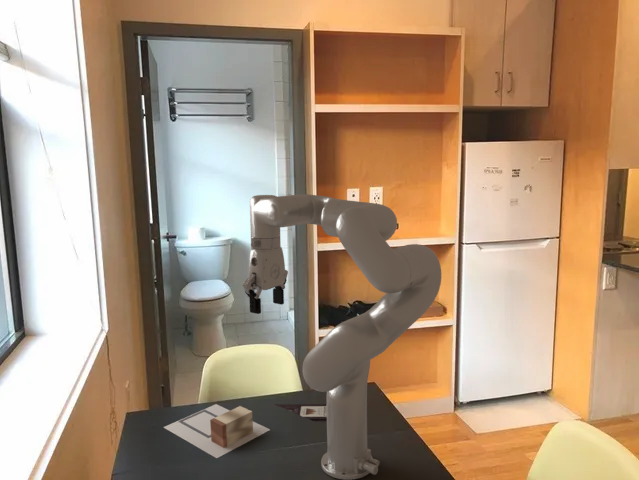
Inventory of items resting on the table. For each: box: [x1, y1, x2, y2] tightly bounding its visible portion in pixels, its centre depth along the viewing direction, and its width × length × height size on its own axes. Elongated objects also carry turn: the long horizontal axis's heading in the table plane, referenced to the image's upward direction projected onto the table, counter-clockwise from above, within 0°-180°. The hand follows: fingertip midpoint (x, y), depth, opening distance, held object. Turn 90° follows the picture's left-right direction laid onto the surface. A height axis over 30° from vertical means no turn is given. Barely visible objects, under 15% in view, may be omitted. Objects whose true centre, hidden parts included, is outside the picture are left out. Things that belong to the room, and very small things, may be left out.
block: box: [210, 405, 254, 448], centre depth 138 cm, size 10×5×6 cm, turn 138°
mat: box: [163, 403, 271, 459], centre depth 143 cm, size 24×18×1 cm
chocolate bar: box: [273, 403, 327, 422], centre depth 152 cm, size 9×1×18 cm
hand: (267, 308), depth 136 cm, fingers open, 9 cm apart
